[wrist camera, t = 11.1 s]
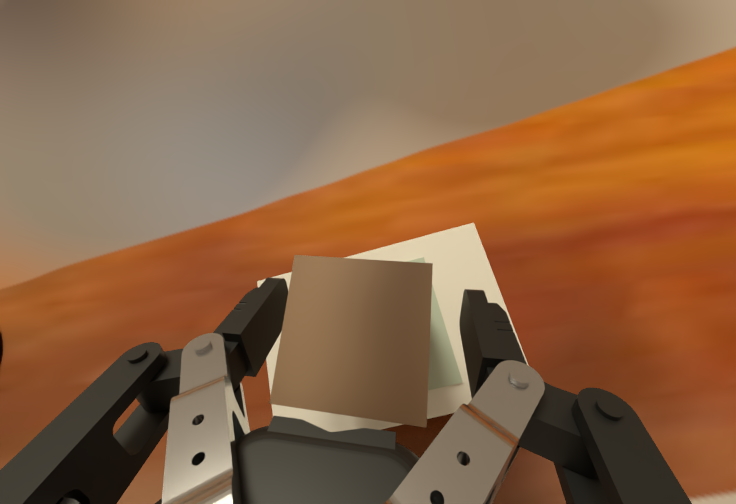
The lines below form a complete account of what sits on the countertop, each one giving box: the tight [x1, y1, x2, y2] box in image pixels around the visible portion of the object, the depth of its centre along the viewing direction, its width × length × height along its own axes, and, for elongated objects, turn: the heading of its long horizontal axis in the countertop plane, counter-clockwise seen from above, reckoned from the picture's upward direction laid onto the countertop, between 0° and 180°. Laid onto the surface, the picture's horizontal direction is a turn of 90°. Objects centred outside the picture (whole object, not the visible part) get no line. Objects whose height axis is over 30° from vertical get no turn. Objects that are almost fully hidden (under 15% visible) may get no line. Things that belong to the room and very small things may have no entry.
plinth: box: [257, 223, 528, 432], centre depth 20 cm, size 16×11×3 cm
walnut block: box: [269, 255, 433, 428], centre depth 13 cm, size 5×5×10 cm
